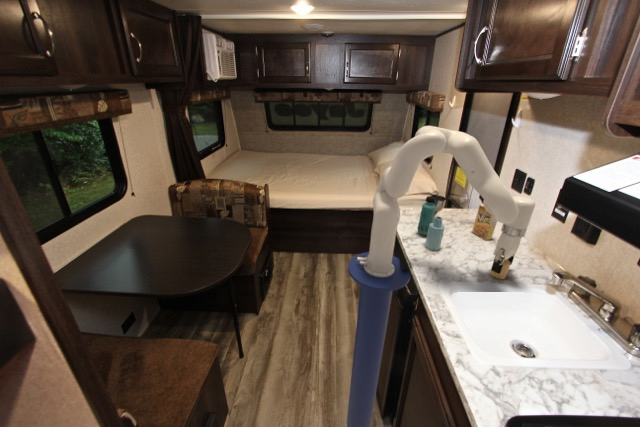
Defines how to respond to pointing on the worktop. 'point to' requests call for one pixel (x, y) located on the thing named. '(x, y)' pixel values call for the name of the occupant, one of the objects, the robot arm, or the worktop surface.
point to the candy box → (484, 224)
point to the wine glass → (438, 204)
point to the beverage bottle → (426, 215)
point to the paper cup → (502, 270)
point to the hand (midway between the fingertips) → (501, 267)
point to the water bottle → (435, 234)
